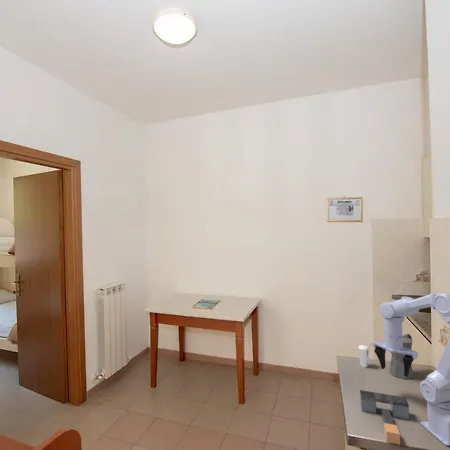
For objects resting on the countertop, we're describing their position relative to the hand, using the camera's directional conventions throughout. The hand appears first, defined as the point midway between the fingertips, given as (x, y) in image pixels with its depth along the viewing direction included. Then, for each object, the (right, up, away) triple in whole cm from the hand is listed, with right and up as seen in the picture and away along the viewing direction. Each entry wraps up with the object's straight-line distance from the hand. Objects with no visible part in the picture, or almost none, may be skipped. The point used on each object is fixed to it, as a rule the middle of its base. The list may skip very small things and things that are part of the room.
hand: (394, 371), depth 103 cm
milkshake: (+1, -10, +24) cm, 26 cm away
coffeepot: (+14, -10, +17) cm, 24 cm away
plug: (-12, -9, -17) cm, 22 cm away
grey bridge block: (-9, -9, -8) cm, 15 cm away
